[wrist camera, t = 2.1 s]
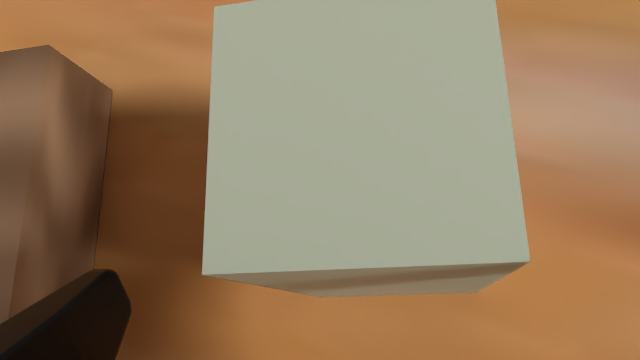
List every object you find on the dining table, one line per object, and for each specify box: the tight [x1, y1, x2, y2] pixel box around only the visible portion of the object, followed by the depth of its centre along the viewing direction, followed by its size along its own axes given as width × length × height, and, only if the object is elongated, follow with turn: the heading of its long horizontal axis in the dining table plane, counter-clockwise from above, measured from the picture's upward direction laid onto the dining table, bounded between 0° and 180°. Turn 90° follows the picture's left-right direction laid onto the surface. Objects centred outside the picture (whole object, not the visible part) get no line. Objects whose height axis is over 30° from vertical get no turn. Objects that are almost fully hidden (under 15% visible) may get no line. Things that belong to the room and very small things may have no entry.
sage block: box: [202, 0, 530, 297], centre depth 14 cm, size 6×6×10 cm
